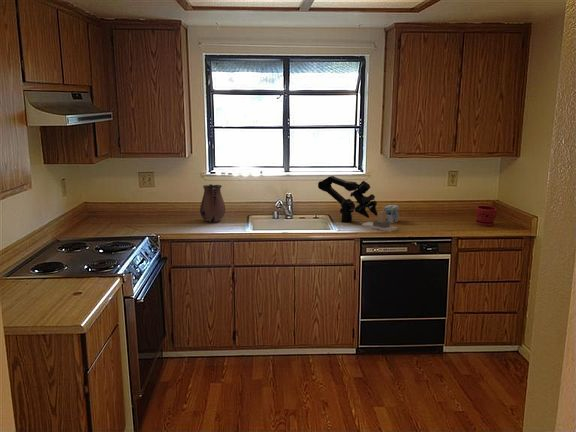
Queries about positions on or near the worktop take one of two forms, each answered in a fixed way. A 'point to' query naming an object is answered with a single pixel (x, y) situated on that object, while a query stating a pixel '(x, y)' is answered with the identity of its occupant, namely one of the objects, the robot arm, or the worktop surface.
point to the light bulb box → (392, 213)
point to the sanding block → (381, 220)
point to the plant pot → (485, 215)
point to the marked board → (370, 225)
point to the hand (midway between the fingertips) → (373, 216)
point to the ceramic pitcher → (212, 203)
